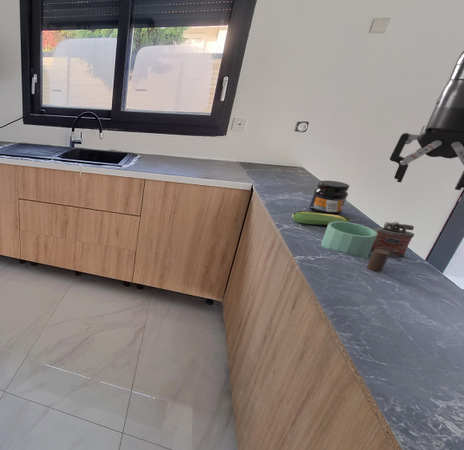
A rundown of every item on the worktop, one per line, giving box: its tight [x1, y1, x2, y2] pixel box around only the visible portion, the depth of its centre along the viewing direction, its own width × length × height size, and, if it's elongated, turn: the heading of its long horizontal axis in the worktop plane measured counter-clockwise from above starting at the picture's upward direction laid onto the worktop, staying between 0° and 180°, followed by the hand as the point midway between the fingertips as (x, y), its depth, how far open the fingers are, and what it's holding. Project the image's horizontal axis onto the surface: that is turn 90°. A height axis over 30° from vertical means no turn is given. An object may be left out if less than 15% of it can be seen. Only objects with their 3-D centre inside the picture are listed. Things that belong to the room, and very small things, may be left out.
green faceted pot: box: [320, 221, 378, 259], centre depth 97 cm, size 11×11×8 cm
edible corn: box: [291, 210, 352, 226], centre depth 115 cm, size 5×20×5 cm, turn 70°
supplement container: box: [309, 180, 350, 216], centre depth 126 cm, size 10×10×12 cm
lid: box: [366, 249, 390, 273], centre depth 84 cm, size 12×12×7 cm
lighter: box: [370, 221, 415, 258], centre depth 94 cm, size 8×3×10 cm, turn 55°
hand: (426, 185), depth 67 cm, fingers open, 8 cm apart
